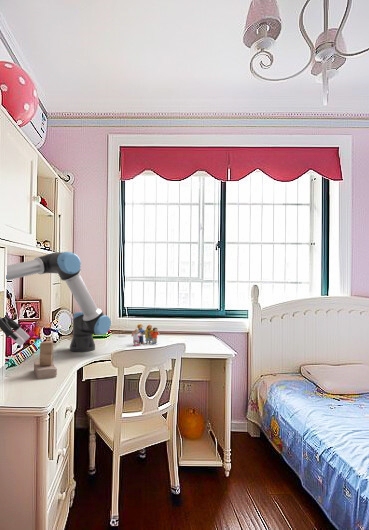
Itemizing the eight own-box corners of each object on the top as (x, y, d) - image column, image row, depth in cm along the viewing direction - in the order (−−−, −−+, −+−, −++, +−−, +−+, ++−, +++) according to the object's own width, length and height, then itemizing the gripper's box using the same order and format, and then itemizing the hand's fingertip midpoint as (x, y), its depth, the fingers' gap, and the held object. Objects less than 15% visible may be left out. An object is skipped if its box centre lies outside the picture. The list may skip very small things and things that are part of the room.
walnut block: (41, 363, 175) (41, 341, 175) (52, 362, 176) (53, 341, 176) (39, 365, 170) (40, 343, 170) (51, 365, 171) (51, 343, 171)
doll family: (131, 346, 240) (132, 326, 240) (125, 344, 248) (126, 324, 248) (160, 343, 251) (161, 324, 252) (154, 341, 259) (154, 322, 260)
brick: (57, 378, 167) (57, 367, 167) (37, 380, 163) (37, 369, 163) (51, 369, 182) (52, 360, 182) (33, 371, 178) (33, 361, 178)
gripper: (-9, 312, 180) (23, 342, 183) (-25, 317, 156) (13, 352, 159) (3, 301, 181) (35, 331, 185) (-10, 305, 157) (27, 339, 160)
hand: (25, 341), depth 172 cm, fingers open, 13 cm apart
